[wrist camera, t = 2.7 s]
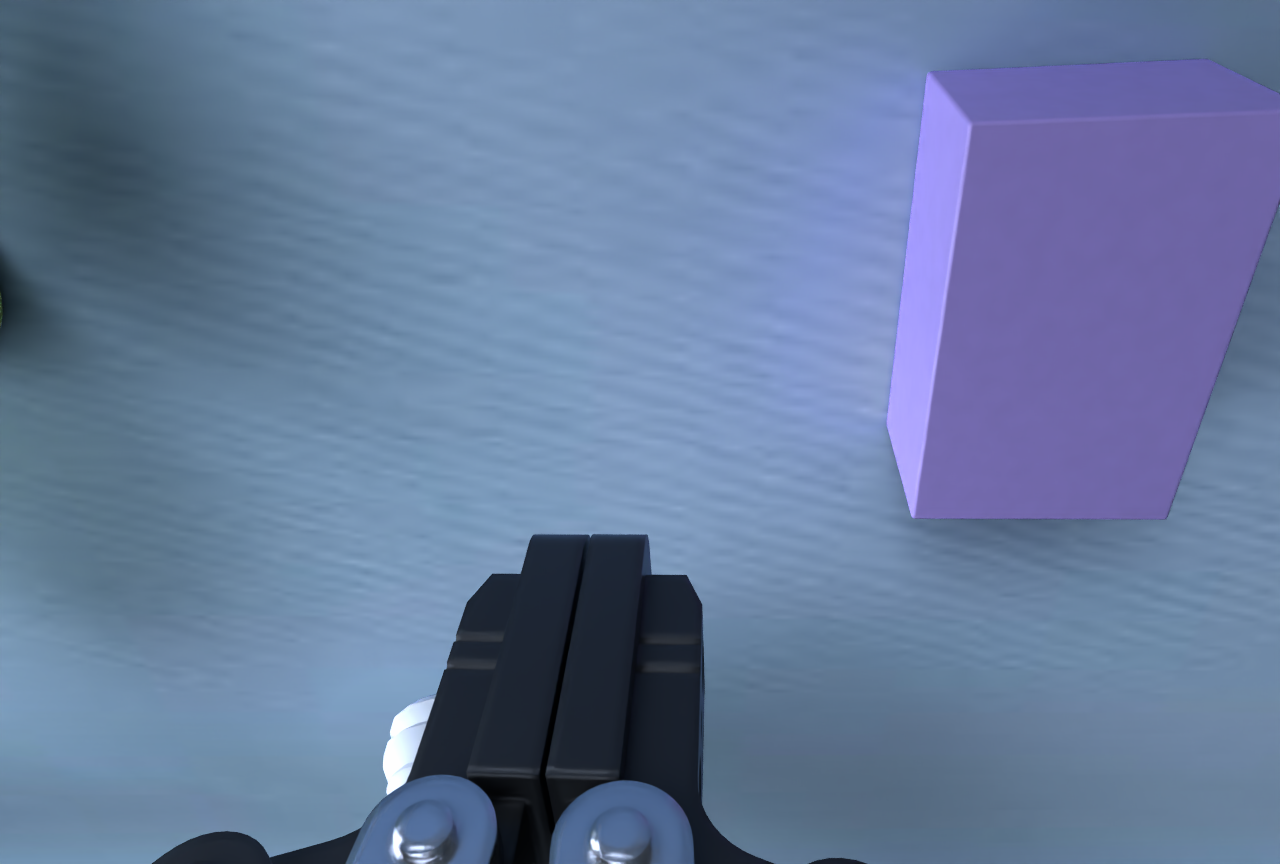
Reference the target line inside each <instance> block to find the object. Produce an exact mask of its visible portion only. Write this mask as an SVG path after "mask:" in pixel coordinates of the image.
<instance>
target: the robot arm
mask: <svg viewBox="0 0 1280 864" xmlns="http://www.w3.org/2000/svg"><path fill="white" fill-rule="evenodd" d="M704 694H705V679H704V647H703V615H702V603H701V601H700V600H699V598H698V596H697V594H696V592H695V590H694V588H693V586H692V584H691V582H690V581H689V579H688V577H687V575H652V574H651V561H650V547H649V539H648V535H608V534H593V535H592V536H591V538H590V536H589V535H536V534H535V535H533V536H532V538H531V540H530V543H529V546H528V550H527V553H526V557H525V561H524V564H523V568H522V571H521V574H492V575H491V576H490V577H489V578H488V579H487V580H486V582H485V583H484V584H483V585H482V586H481V587H480V588H479V589H478V591H477V592H476V593H475V594H474V595H473V596H472V597H471V598H470V600H469V601H468V602H467V604H466V607H465V610H464V613H463V616H462V619H461V622H460V625H459V628H458V631H457V634H456V642H454V643H453V646H452V649H451V652H450V655H449V658H448V661H447V669H446V670H444V673H443V676H442V679H441V682H440V685H439V688H438V691H437V694H436V697H435V700H434V703H433V706H432V709H431V712H430V715H429V718H428V721H427V724H426V727H425V730H424V733H423V736H422V739H421V742H420V745H419V747H418V750H417V753H416V756H415V759H414V762H413V765H412V768H411V771H410V774H409V776H408V778H407V781H406V783H405V784H404V785H402V786H400V787H399V788H397V789H395V790H394V791H392V792H391V793H390V794H389V795H387V796H386V797H385V798H383V799H382V800H381V801H380V802H379V804H378V805H377V806H376V807H375V808H374V809H373V810H372V812H371V813H370V814H369V816H368V817H367V819H366V820H365V822H364V824H363V826H362V827H361V828H360V829H358V830H356V831H354V832H352V833H350V834H348V835H346V836H343V837H340V838H337V839H334V840H331V841H328V842H324V843H321V844H317V845H313V846H310V847H306V848H303V849H299V850H295V851H292V852H288V853H285V854H281V855H277V856H274V857H270V858H269V856H268V854H267V852H266V851H265V849H264V847H263V846H262V845H261V844H260V843H259V842H258V841H257V840H255V839H253V838H252V837H250V836H248V835H245V834H242V833H238V832H229V831H225V832H214V833H209V834H205V835H201V836H198V837H196V838H193V839H190V840H188V841H186V842H184V843H182V844H180V845H178V846H176V847H175V848H173V849H172V850H170V851H169V852H167V853H166V854H164V855H163V856H161V857H160V858H159V859H157V860H156V861H155V862H153V863H152V864H774V863H771V862H769V861H766V860H763V859H761V858H758V857H755V856H753V855H751V854H749V853H747V852H745V851H743V850H741V849H739V848H738V847H736V846H735V845H733V844H732V843H730V842H729V841H728V840H727V839H726V838H725V837H724V836H722V835H721V834H720V833H719V831H718V830H717V829H716V828H715V827H714V826H713V824H712V823H711V821H710V820H709V818H708V816H707V815H706V813H705V811H704V808H703V806H702V789H703V741H704ZM809 864H866V863H863V862H860V861H857V860H852V859H845V858H828V859H822V860H817V861H814V862H812V863H809Z"/></svg>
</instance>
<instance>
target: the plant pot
mask: <svg viewBox="0 0 1280 864" xmlns="http://www.w3.org/2000/svg"><path fill="white" fill-rule="evenodd" d="M2 316H3V310H2V297H1V292H0V327H1V322H2Z"/></svg>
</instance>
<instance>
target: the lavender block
mask: <svg viewBox="0 0 1280 864" xmlns="http://www.w3.org/2000/svg"><path fill="white" fill-rule="evenodd" d="M1279 203H1280V94H1279V93H1277V92H1275V91H1273V90H1271V89H1269V88H1267V87H1265V86H1263V85H1260V84H1258V83H1256V82H1254V81H1252V80H1250V79H1248V78H1246V77H1244V76H1242V75H1240V74H1238V73H1236V72H1234V71H1231V70H1229V69H1227V68H1225V67H1223V66H1221V65H1219V64H1217V63H1215V62H1213V61H1211V60H1209V59H1192V60H1170V61H1148V62H1126V63H1104V64H1082V65H1060V66H1038V67H1017V68H995V69H973V70H951V71H931V72H929V73H928V75H927V78H926V87H925V96H924V104H923V113H922V122H921V130H920V139H919V148H918V156H917V165H916V174H915V182H914V191H913V200H912V208H911V217H910V226H909V234H908V243H907V252H906V260H905V269H904V278H903V286H902V295H901V304H900V312H899V321H898V329H897V338H896V347H895V355H894V364H893V373H892V381H891V390H890V399H889V407H888V416H887V428H888V431H889V435H890V439H891V442H892V446H893V450H894V453H895V457H896V461H897V465H898V468H899V472H900V476H901V479H902V483H903V487H904V490H905V494H906V498H907V501H908V505H909V509H910V512H911V516H912V518H915V519H1158V520H1164V519H1166V518H1167V517H1168V514H1169V511H1170V508H1171V506H1172V503H1173V500H1174V497H1175V494H1176V492H1177V489H1178V486H1179V483H1180V480H1181V478H1182V475H1183V472H1184V469H1185V466H1186V464H1187V461H1188V458H1189V455H1190V452H1191V450H1192V447H1193V444H1194V441H1195V438H1196V436H1197V433H1198V430H1199V427H1200V424H1201V422H1202V419H1203V416H1204V413H1205V410H1206V408H1207V405H1208V402H1209V399H1210V396H1211V394H1212V391H1213V388H1214V385H1215V382H1216V380H1217V377H1218V374H1219V371H1220V368H1221V366H1222V363H1223V360H1224V357H1225V354H1226V352H1227V349H1228V346H1229V343H1230V340H1231V337H1232V335H1233V332H1234V329H1235V326H1236V323H1237V321H1238V318H1239V315H1240V312H1241V309H1242V307H1243V304H1244V301H1245V298H1246V295H1247V293H1248V290H1249V287H1250V284H1251V281H1252V279H1253V276H1254V273H1255V270H1256V267H1257V265H1258V262H1259V259H1260V256H1261V253H1262V251H1263V248H1264V245H1265V242H1266V239H1267V237H1268V234H1269V231H1270V228H1271V225H1272V223H1273V220H1274V217H1275V214H1276V211H1277V209H1278V206H1279Z"/></svg>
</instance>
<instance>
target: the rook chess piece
mask: <svg viewBox="0 0 1280 864" xmlns="http://www.w3.org/2000/svg"><path fill="white" fill-rule="evenodd" d="M435 697H436V694H435V695H432V696H428V697H424V698H421V699H419V700H418V701H416V702H414V703H412V704H411V705H409V706H408V707H407V708H405V709H404V710H403V711H402V712H400V713H399V714H398V715H397V716H396V717H395V718H394V721H393V724H392V728H391V731H390V734H391V737H392V739H391V740H389V741H388V744H387V747H386V750H385V754H384V758H383V769H384V772H385V775H386V778H387V781H388V786H387V789H386V791H387V794H388V795H389V794H390V793H391V792H392V791H394V790H395V789H397V788H399V787H400V786H402V785H404V784H405V783H406V781H407V778H408V776H409V774H410V771H411V768H412V765H413V762H414V759H415V756H416V753H417V750H418V747H419V745H420V742H421V739H422V736H423V733H424V730H425V727H426V724H427V721H428V718H429V715H430V712H431V709H432V706H433V703H434V700H435Z"/></svg>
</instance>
